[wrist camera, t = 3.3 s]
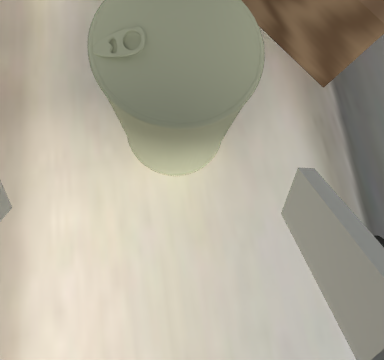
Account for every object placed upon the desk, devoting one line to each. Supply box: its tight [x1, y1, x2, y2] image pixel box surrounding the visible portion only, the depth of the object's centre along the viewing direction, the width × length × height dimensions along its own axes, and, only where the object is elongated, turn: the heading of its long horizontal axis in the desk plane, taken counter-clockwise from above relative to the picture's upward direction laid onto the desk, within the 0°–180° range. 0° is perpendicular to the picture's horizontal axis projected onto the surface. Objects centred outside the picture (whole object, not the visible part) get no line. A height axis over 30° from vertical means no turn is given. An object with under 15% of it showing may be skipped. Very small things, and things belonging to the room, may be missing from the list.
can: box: [88, 0, 264, 176], centre depth 18 cm, size 9×9×12 cm
